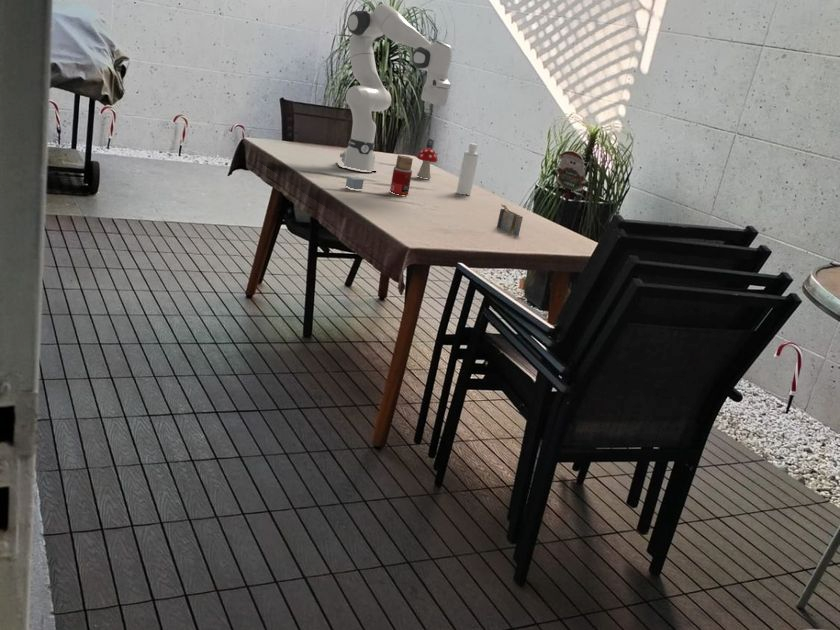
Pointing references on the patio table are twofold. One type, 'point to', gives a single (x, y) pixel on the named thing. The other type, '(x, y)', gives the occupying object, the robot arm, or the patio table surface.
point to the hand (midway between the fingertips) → (430, 114)
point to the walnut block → (404, 162)
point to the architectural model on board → (509, 221)
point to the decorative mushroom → (426, 162)
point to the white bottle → (468, 170)
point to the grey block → (354, 182)
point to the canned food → (400, 181)
